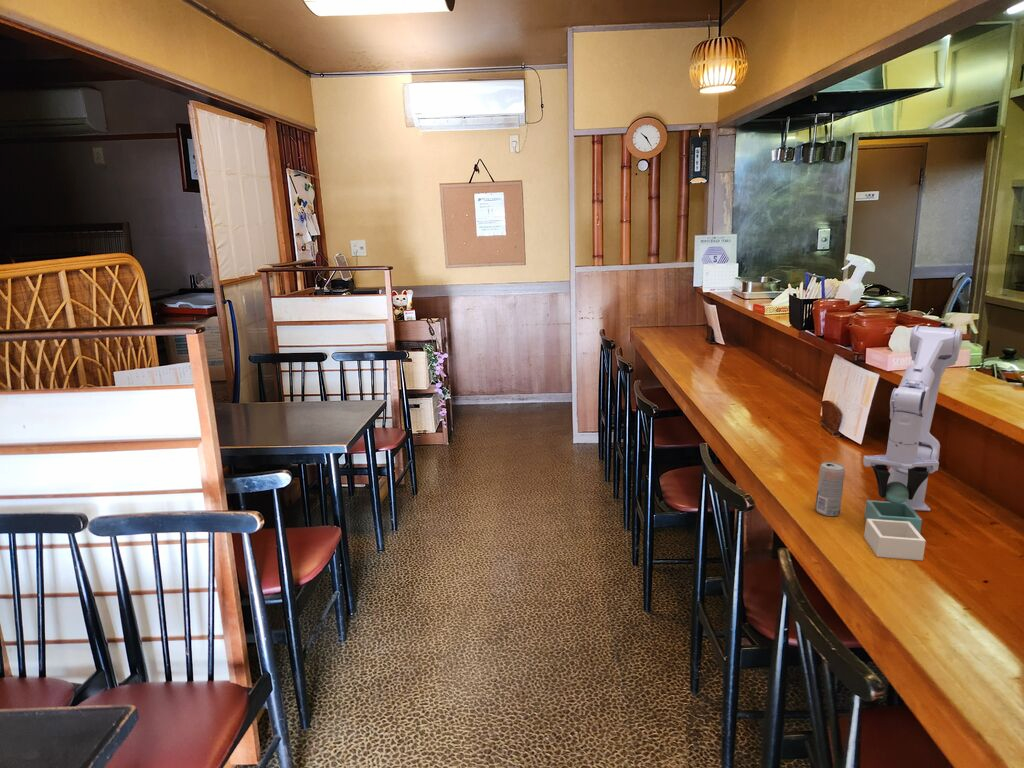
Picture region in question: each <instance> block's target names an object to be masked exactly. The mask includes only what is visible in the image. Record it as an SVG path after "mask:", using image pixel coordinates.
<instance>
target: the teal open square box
mask: <svg viewBox="0 0 1024 768" xmlns="http://www.w3.org/2000/svg"><path fill="white" fill-rule="evenodd" d="M864 519H865V520H866V519H880V520H894V521H908V522H910V523H911V524H912V525H913V526H914V527H915V529H916V530H917V531H918V532H919V533H920V534H921V530H922V523H923V519H922V518H921V517H920V515H918V513H917V512H916V510H913V509H912V508H911V507H910V505H909V504H908V503H901V504H894V503H891V502H888V500H886V501H885V500H870V499H866V502H865V511H864Z"/></svg>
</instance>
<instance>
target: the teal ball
mask: <svg viewBox="0 0 1024 768" xmlns="http://www.w3.org/2000/svg"><path fill="white" fill-rule="evenodd" d="M908 497H909V490H908V488H907V487H906V486H905V485H904V484H903V483H900V482H890V483H888V484H887V489H886V496H885V498H884V499H886V501H889V502H891V503H894V504H901V503H904V502H905V501H906V500H907V499H908Z"/></svg>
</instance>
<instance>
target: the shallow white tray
mask: <svg viewBox="0 0 1024 768" xmlns="http://www.w3.org/2000/svg"><path fill="white" fill-rule="evenodd" d="M863 538H864V540H865V541H866V542H867V544H868V545H869V547H870V548H871V550H872V552H873V553H874V554H875V556H876V557H878V558H888V559H898V560H901V559H902V560H913V561H923V560H924V556H925V555H924V554H925V548H926V542H927V540H926V539H925V538H924V537H923V536H922V535H921V532H920V533H919V532H918V531H917V530H916V529H915V527H914V526H913V525H912V524H911V523H910V522H908V521H894V520H880V519H865V527H864V534H863Z"/></svg>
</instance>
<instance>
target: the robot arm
mask: <svg viewBox="0 0 1024 768" xmlns="http://www.w3.org/2000/svg"><path fill="white" fill-rule="evenodd" d="M962 340H963V331H962V329H961V328H959V327H958V328H948V327H938V326H937V327H936V326H935V327H934V326H924V325H922V326H921V325H919V324H917V325H915V326H913V327H912V330H911V332H910V337H909V351H910V357H911V360H912V362H913V364H911V365H910V366H908V367H907V368H906V369H905V370H904V373H903V376H902V377H901V380H900V383H899V385H898V388H896V387H894V388H893V390H892V391H891V396H890V398H889V399H890V401H889V410H890V411H889V419H890V424H889V425H890V426H889V432H888V441H887V447H886V448H887V449H886V453H885V454H877V455H863V459H862V464H863V465H864V466H865V467H867V468H869V467H871V468H872V471H873V473H874V475H875V478H876V483H877V488H878V489H877V490H878V496H879V497H880V498H882V499H886V498H885V496H886V489H887V484H888V483H890V482H900V483H903V484H904V485H905V486H906V487H907V488H908V490H909V497H908V499H907V500H906V501H905V502H904V503H908V504H909V505H910V507H911V508H912V509H913V510H914V511H925V512H930V511H931V508H930V507H929V505H927V504H926V502H925V498H926V491H927V487H928V480H929V474H933V473H934V472H936V471H939V465H940V462H939V459H940V450H941V449H940V448H941V444H940V441H939V440H938V439H937V438H936V437H935V436H934V435H932V434H931V432H930V431H931V426H932V422H933V419H934V413H935V408H936V404H937V400H938V395H939V390H940V387H941V381H942V377H943V374H944V373H945V371H946V369H947V368H948V367H951V366H955V365H956V362H957V361H958V359H959V354H960V350H961V347H962V342H963V341H962ZM887 501H888V500H887ZM888 502H889V501H888Z"/></svg>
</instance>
